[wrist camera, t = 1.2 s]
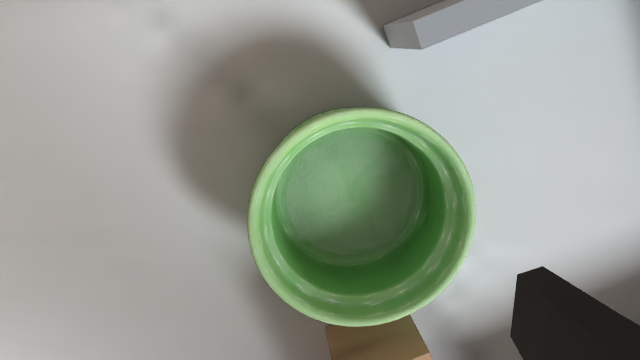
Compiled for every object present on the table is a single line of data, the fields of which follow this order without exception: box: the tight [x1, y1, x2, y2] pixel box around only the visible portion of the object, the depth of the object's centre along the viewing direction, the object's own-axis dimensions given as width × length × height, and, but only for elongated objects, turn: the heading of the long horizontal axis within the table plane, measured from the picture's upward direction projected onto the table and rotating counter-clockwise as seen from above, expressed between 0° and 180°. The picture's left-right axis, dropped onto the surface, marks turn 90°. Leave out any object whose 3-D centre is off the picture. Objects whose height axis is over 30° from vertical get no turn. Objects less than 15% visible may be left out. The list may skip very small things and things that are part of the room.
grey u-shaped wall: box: [383, 0, 542, 49], centre depth 24 cm, size 14×21×5 cm, turn 22°
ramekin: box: [247, 107, 476, 327], centre depth 23 cm, size 9×9×4 cm
